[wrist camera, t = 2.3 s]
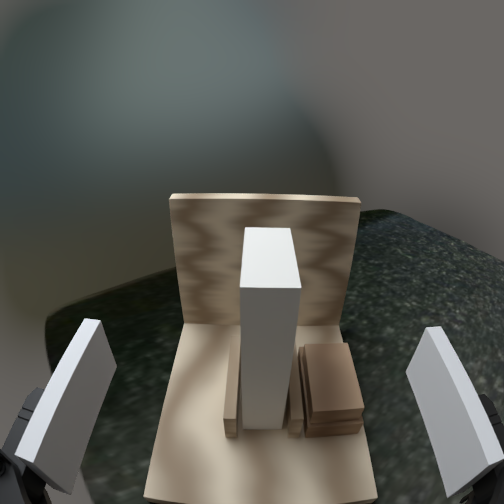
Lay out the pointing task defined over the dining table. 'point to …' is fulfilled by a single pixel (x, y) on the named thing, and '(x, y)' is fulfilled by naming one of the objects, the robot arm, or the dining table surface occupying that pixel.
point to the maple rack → (229, 360)
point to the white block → (267, 324)
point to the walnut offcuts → (329, 390)
